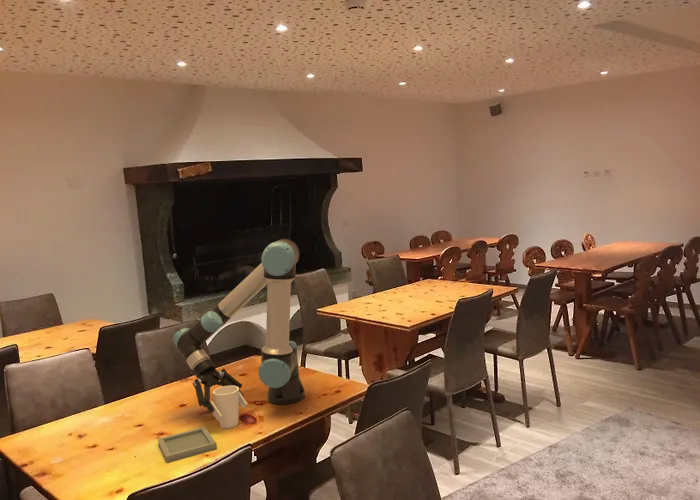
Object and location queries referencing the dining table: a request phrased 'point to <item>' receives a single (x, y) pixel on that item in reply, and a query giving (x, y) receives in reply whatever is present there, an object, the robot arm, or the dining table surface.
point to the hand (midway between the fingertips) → (232, 412)
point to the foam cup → (227, 405)
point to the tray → (186, 444)
